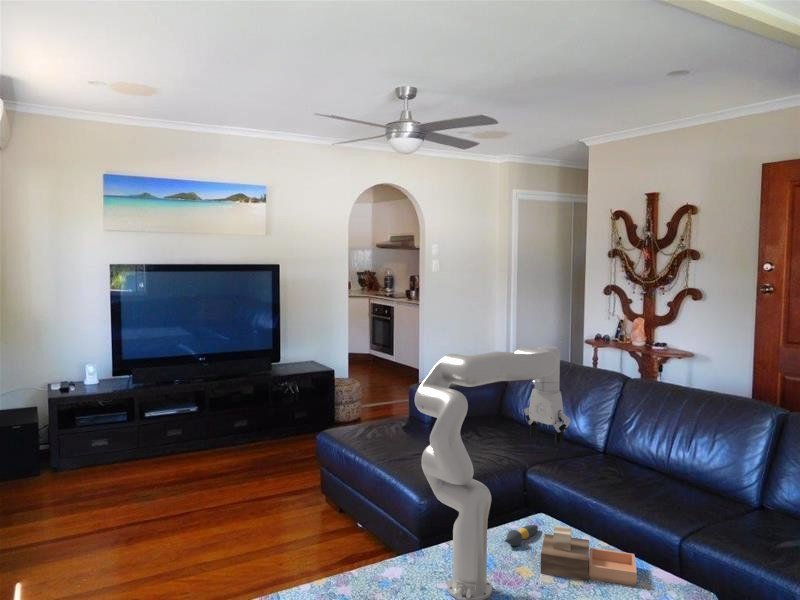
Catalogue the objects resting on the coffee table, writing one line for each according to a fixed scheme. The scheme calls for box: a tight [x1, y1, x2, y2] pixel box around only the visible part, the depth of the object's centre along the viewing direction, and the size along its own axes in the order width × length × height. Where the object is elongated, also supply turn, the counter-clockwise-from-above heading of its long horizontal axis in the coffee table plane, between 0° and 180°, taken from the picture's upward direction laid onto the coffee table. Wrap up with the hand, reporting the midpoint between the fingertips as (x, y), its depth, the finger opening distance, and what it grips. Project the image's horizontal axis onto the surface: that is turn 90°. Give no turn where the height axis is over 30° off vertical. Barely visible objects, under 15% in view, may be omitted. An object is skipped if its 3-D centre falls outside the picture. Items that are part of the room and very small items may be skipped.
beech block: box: [552, 525, 572, 551], centre depth 184 cm, size 5×5×5 cm
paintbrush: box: [504, 524, 539, 547], centre depth 202 cm, size 20×5×5 cm, turn 143°
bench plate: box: [540, 533, 590, 581], centre depth 184 cm, size 14×14×6 cm
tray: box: [588, 547, 638, 587], centre depth 180 cm, size 12×13×4 cm
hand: (546, 440), depth 188 cm, fingers open, 9 cm apart
